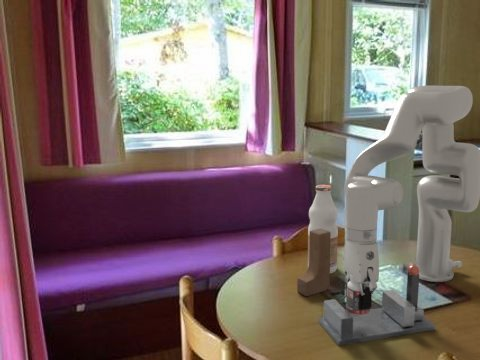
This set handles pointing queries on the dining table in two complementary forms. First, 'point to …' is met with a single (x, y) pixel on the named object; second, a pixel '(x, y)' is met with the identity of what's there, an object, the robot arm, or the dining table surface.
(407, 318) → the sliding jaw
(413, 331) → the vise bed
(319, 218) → the fruit juice
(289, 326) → the dining table surface
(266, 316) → the dining table surface
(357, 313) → the pill bottle
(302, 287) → the wooden block
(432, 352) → the dining table surface
